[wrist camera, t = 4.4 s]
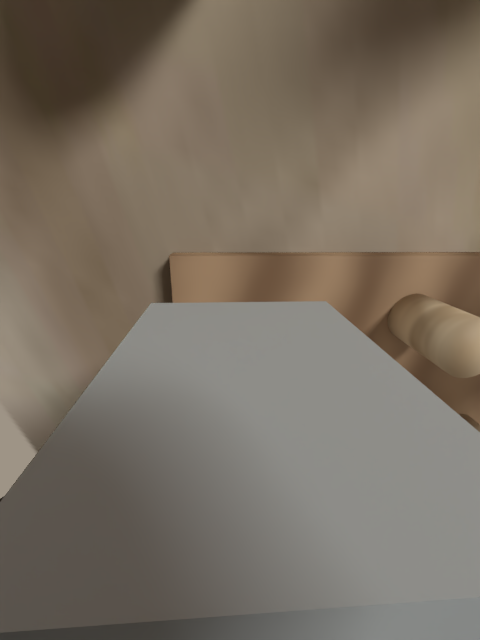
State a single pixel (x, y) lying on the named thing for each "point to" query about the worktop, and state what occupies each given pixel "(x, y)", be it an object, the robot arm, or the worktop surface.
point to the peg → (438, 333)
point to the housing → (247, 491)
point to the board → (346, 295)
